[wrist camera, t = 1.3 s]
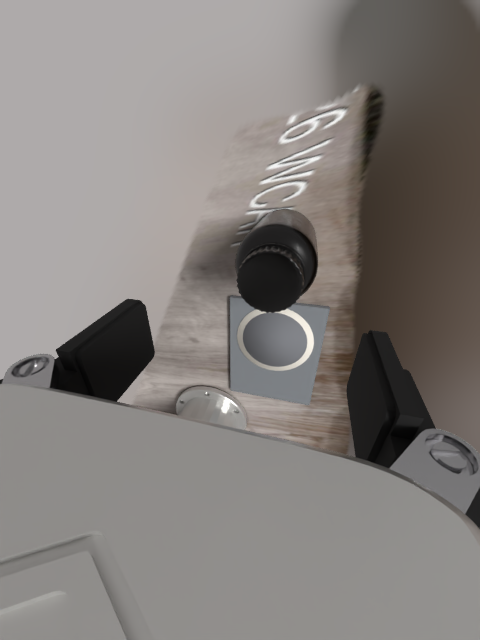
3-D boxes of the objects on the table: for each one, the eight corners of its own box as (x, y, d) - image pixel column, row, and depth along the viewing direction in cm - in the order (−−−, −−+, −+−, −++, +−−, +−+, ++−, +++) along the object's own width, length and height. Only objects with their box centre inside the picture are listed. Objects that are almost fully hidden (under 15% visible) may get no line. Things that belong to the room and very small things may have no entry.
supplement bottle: (241, 245, 30) (204, 285, 19) (281, 193, 26) (261, 208, 16) (286, 284, 30) (273, 340, 20) (331, 238, 27) (342, 279, 17)
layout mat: (309, 402, 39) (309, 406, 38) (231, 387, 41) (230, 391, 40) (329, 306, 31) (329, 309, 30) (231, 295, 33) (229, 297, 32)
